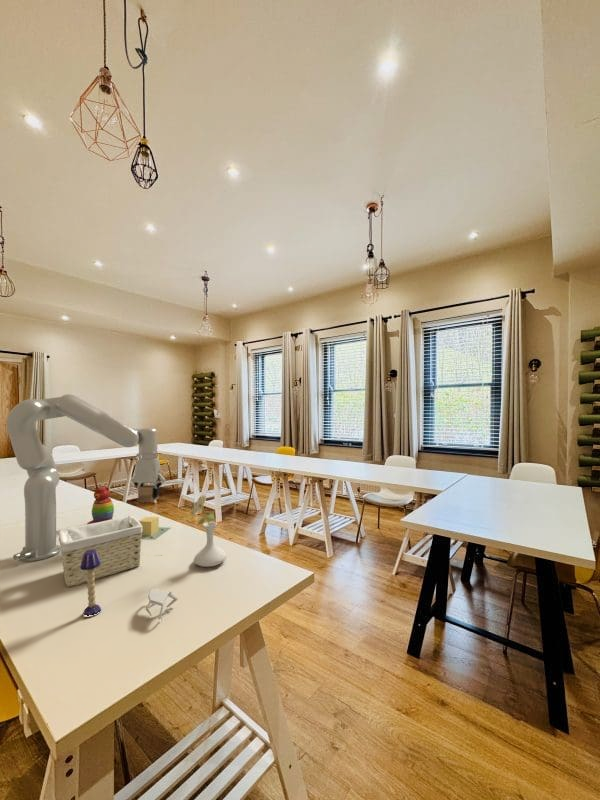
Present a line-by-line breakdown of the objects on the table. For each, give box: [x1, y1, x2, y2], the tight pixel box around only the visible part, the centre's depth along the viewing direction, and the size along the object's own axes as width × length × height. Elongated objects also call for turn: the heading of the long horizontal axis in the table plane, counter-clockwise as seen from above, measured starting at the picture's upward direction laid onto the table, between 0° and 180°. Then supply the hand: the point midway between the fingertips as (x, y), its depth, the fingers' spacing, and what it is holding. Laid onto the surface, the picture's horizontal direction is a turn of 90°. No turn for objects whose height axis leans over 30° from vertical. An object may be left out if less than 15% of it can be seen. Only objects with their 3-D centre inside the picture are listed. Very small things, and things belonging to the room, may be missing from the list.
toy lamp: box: [80, 550, 102, 616], centre depth 92 cm, size 5×5×17 cm
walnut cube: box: [137, 483, 160, 503], centre depth 149 cm, size 6×6×6 cm
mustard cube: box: [138, 516, 160, 536], centre depth 149 cm, size 6×6×6 cm
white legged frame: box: [145, 587, 179, 620], centre depth 92 cm, size 12×8×5 cm
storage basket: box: [58, 515, 143, 587], centre depth 117 cm, size 24×16×15 cm
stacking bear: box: [86, 486, 115, 525], centre depth 164 cm, size 11×10×18 cm
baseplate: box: [141, 526, 172, 541], centre depth 149 cm, size 14×14×1 cm
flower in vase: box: [190, 494, 227, 568], centre depth 121 cm, size 13×11×25 cm
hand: (148, 496), depth 149 cm, fingers closed on walnut cube, 6 cm apart
